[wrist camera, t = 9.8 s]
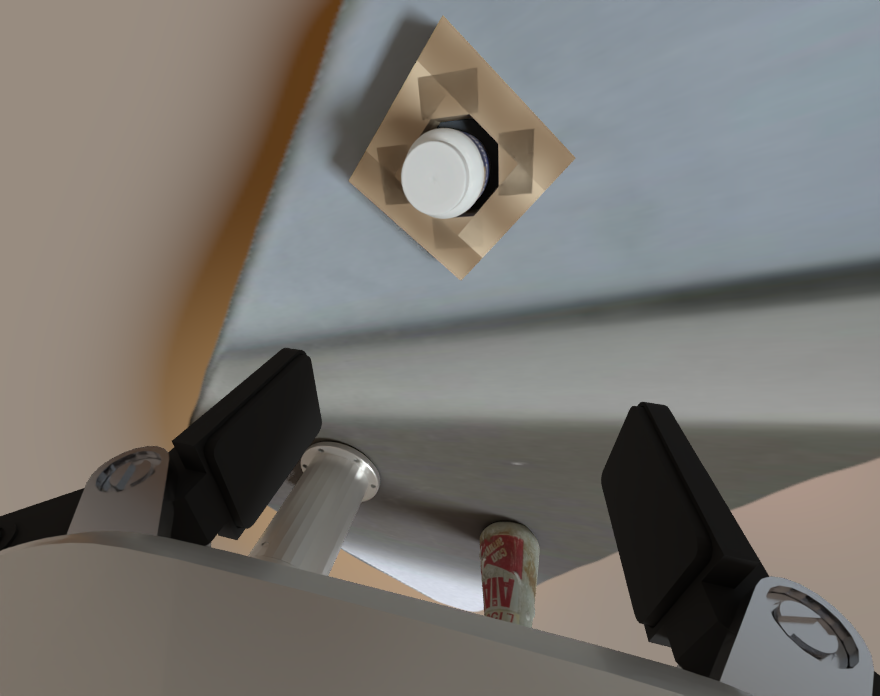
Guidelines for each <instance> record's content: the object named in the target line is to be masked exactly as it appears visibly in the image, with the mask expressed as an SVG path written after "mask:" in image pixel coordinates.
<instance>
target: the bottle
mask: <svg viewBox="0 0 880 696" xmlns="http://www.w3.org/2000/svg"><path fill="white" fill-rule="evenodd" d="M479 557H480V560H481V574H482V587H483V601H484V615H485V616H487V617H491V618H494V619H498V620H502V621H506V622H510V623H514V624H518V625H521V626H525V627H529V628H532V621H533V618H534V616H535V608H534V603H535V594H536V584H537V573H538V563H539V544H538V541H537V539H536V538H535V536H534V535H533V534H532V532H531V531H530V530H529V529H528V528H527V527H526V526H524V525H522V524H518V523H513V522H512V521H511V522H502V521H501V522H496V523H493V524H491V525H489V526H488V527H487V528H485V529H484V530H483V532H482V533H481V536H480V554H479Z"/></svg>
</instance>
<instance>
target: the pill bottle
mask: <svg viewBox="0 0 880 696" xmlns="http://www.w3.org/2000/svg"><path fill="white" fill-rule="evenodd" d="M490 172H491V165H490V159H489V155H488V152H487V150H486V148H485V147H484V145H483V144H482V143H481V141H480V140H478V139H477V138H476V137H474V136H473V135H471V134H469V133H466V132H462V131H459V130H455V129H450V128H438V129H433V130H430V131H428V132H426V133H424V134H423V135H421V136H420V137H419V138H418V139H417V140H416V141H415V142H414V143H413V144H412V146H411V148H410V149H409V151H408V153H407V156H406V159H405V161H404V163H403V167H402V172H401V183H402V188H403V191H404V194H405V196H406V198H407V200H408V201H409V202H410V204H411V205H412V206H413V207H414V208H416V209H417V210H418V211H420V212H422V213H424V214H427V215H429V216H431V217H434V218H439V219H448V218H453V217H456V216H459V215H461V214H463V213H464V212H466V211H467V210H468V209H469V208H470V207H471V206H472V205H473V204H474V203H475V202H476V200H477V199H478V198H479V197H480V196H481V194H482V193H483V192H484V190H485V188H486V186H487V184H488V181H489V178H490Z"/></svg>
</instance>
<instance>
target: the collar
mask: <svg viewBox="0 0 880 696" xmlns="http://www.w3.org/2000/svg"><path fill="white" fill-rule="evenodd" d="M469 118H474V119H475V120H476V121H477V122H478V123H479V124H480V125H481V126H482V127H483V128H484V129H485V130H486V131H487V132H488V133H489V135H490V136H491V137H492V138H493V139H494V140H495V141H496V142H497V143H498V155H499V186H498V187H497V188H496V189H495V190H494V192H493V193H492V194H491V195H490V196H489V198H488V199H487V200H486V201H485V202H484V204H483V205H482V206H481V207H480V208H479V209H474V210H467V211H466V212H464V213H463V214H461V215H459V216H456V217H453V218H448V219H439V218H434V217H431V216H429V215H427V214H424V213H422V212H420V211H418V210H417V209H416V208H414V207H413V206H412V205H411V204H410V202H409V201H408V200H407V198H406V196H405V194H404V191H403V188H402V183H401V172H402V167H403V163H404V161H405V159H406V156H407V153H408V151H409V149H410V148H411V146H412V144H413V143H414V142H415V141H416V140H417V139H418V138H419V137H420V136H421V135H423V134H424V133H426V132H428V131H430V130H433V129H437V127H438V125H439V124H440V122H447V121H454V120H461V119H469ZM574 159H575V157H574V156H573V155H572V154H571V153H570V152H569V150H568V149H567V148H566V147H565V146H564V145H563V144H562V143H561V142H560V141H559V140H558V139H557V138H556V136H555V135H554V134H553V133H552V132H551V131H550V130H549V129H548V128H547V127H546V126H545V125H544V124H543V122H542V121H541V120H540V119H539V118H538V117H537V116H536V115H535V114H534V113H533V112H532V111H531V110H530V108H529V107H528V106H527V105H526V104H525V103H524V102H523V101H522V100H521V99H520V98H519V97H518V96H517V94H516V93H515V92H514V91H513V90H512V89H511V88H510V87H509V86H508V85H507V84H506V83H505V82H504V80H503V79H502V78H501V77H500V76H499V75H498V74H497V73H496V72H495V71H494V70H493V69H492V68H491V66H490V65H489V64H488V63H487V62H486V61H485V60H484V59H483V58H482V57H481V56H480V55H479V54H478V53H477V51H476V50H475V49H474V48H473V47H472V46H471V45H470V44H469V43H468V42H467V41H466V40H465V39H464V37H463V36H462V35H461V34H460V33H459V32H458V31H457V30H456V29H455V28H454V27H453V26H452V25H451V23H450V22H449V21H448V20H447V19H446V18H445V17H444V16H442V17H441V19H440V21H439V23H438V24H437V26H436V28H435V30H434V31H433V33H432V35H431V37H430V39H429V40H428V42H427V44H426V46H425V47H424V49H423V51H422V53H421V54H420V56H419V58H418V60H417V61H416V63H415V65H414V67H413V68H412V70H411V72H410V74H409V75H408V77H407V79H406V81H405V83H404V84H403V86H402V88H401V90H400V91H399V93H398V95H397V97H396V98H395V100H394V102H393V104H392V105H391V107H390V109H389V111H388V112H387V114H386V116H385V118H384V119H383V121H382V123H381V125H380V127H379V128H378V130H377V132H376V134H375V135H374V137H373V139H372V141H371V142H370V144H369V146H368V148H367V149H366V151H365V153H364V155H363V156H362V158H361V160H360V162H359V164H358V165H357V167H356V169H355V171H354V172H353V174H352V176H351V178H350V179H349V182H350V183H351V184H353V185H354V186H355V187H356V188H357V189H358V190H359V191H360V192H362V193H363V194H364V195H365V196H366V197H367V198H368V199H369V200H371V201H372V202H373V203H374V204H375V205H376V206H377V207H378V208H380V209H381V210H382V211H383V212H384V213H385V214H386V215H388V216H389V217H390V218H391V219H392V220H393V221H394V222H395V223H397V224H398V225H399V226H400V227H401V228H402V229H403V230H404V231H406V232H407V233H408V234H409V235H410V236H411V237H412V238H413V239H415V240H416V241H417V242H418V243H419V244H420V245H421V246H422V247H424V248H425V249H426V250H427V251H428V252H429V253H430V254H431V255H433V256H434V257H435V258H436V259H437V260H438V261H439V262H440V263H442V264H443V265H444V266H445V267H446V268H447V269H448V270H449V271H451V272H452V273H453V274H454V275H455V276H456V277H457V278H458V279H460V280H462V279H463V278H464V277H465V276H466V275H467V274H468V273H469V272H470V271H471V270H472V268H473V267H474V266H475V265H476V264H477V263H478V262H479V261H480V260H481V259H482V258H483V257H484V256H485V255H486V253H487V252H488V251H489V250H490V249H491V248H492V247H493V246H494V245H495V244H496V243H497V242H498V241H499V240H500V238H501V237H502V236H503V235H504V234H505V233H506V232H507V231H508V230H509V229H510V228H511V227H512V226H513V225H514V223H515V222H516V221H517V220H518V219H519V218H520V217H521V216H522V215H523V214H524V213H525V212H526V211H527V210H528V208H529V207H530V206H531V205H532V204H533V203H534V202H535V201H536V200H537V199H538V198H539V197H540V196H541V195H542V193H543V192H544V191H545V190H546V189H547V188H548V187H549V186H550V185H551V184H552V183H553V182H554V181H555V180H556V178H557V177H558V176H559V175H560V174H561V173H562V172H563V171H564V170H565V169H566V168H567V167H568V166H569V165H570V163H571V162H572V161H573V160H574Z"/></svg>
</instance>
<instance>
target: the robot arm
mask: <svg viewBox="0 0 880 696" xmlns="http://www.w3.org/2000/svg"><path fill="white" fill-rule="evenodd" d="M321 425H322V419H321V414H320V408H319V402H318V397H317V391H316V385H315V380H314V374H313V368H312V363H311V359H310V357H309V356H307V355H306V353H305V352H304V351H303V350H297V349H290V348H283V349H282V350H280V351H279V352H278V353H277V354H276V355H274V356H273V357H272V358H271V359H270V360H268V361H267V362H266V363H265V364H264V365H262V366H261V367H260V368H259V369H258V370H256V371H255V372H254V373H253V374H252V375H250V376H249V377H248V378H247V379H246V380H244V381H243V382H242V383H241V384H240V385H238V386H237V387H236V388H235V389H234V390H232V391H231V392H230V393H229V394H228V395H226V396H225V397H224V398H223V399H222V400H220V401H219V402H218V403H217V404H216V405H214V406H213V407H212V408H211V409H210V410H208V411H207V412H206V413H205V414H204V415H202V416H201V417H200V418H199V419H198V420H196V421H195V422H194V423H193V424H192V425H190V426H189V427H188V428H187V429H186V430H184V431H183V432H182V433H181V434H180V435H179V436H177V437H176V438H175V439H174V440H172V443H173V445H174V448H173V449H172V450H171V451H170V452H167V451H166V450H165V449H164V448H161V447H158V446H146V447H140V448H135V449H132V450H129V451H127V452H124V453H122V454H120V455H118V456H116V457H114V458H112V459H110V460H109V461H107V462H106V463H104V464H103V465H101V466H100V467H99V468H98V469H97V470H96V471H95V472H94V473H93V474H92V475H91V477H90V478H89V480H88V482H87V483H86V486H85V488H83V489H80V490H77V491H74V492H72V493H68V494H65V495H62V496H59V497H57V498H53V499H50V500H48V501H44V502H42V503H39V504H36V505H33V506H30V507H27V508H24V509H21V510H18V511H15V512H12V513H9V514H6V515H3V516H0V696H880V675H878V674H877V673H876V672H874V666H873V661H872V655H871V653H870V651H869V649H868V648H867V646H866V644H865V642H864V640H863V638H862V637H861V636H860V634H859V633H858V632H857V631H856V629H855V628H854V627H853V625H852V624H851V623H850V622H849V621H848V620H847V619H846V618H845V617H844V616H843V615H842V614H841V613H840V612H839V611H838V610H837V609H836V608H835V607H834V606H832V605H831V604H830V603H828V602H827V601H826V600H825V599H823V598H822V597H821V596H819V595H818V594H817V593H815V592H813V591H811V590H810V589H808V588H806V587H804V586H802V585H801V584H799V583H796V582H793V581H791V580H788V579H785V578H780V577H772V576H771V577H769V575H768V574H767V572H766V570H765V568H764V567H763V565H762V563H761V562H760V560H759V558H758V557H757V555H756V553H755V552H754V550H753V548H752V547H751V545H750V544H749V542H748V540H747V538H746V537H745V535H744V533H743V532H742V530H741V528H740V527H739V525H738V523H737V522H736V520H735V518H734V516H733V515H732V513H731V511H730V510H729V508H728V506H727V505H726V503H725V501H724V500H723V498H722V496H721V495H720V493H719V491H718V490H717V488H716V486H715V485H714V483H713V481H712V479H711V478H710V476H709V474H708V473H707V471H706V469H705V468H704V466H703V465H702V463H701V461H700V460H699V458H698V456H697V455H696V453H695V451H694V450H693V448H692V446H691V445H690V443H689V441H688V440H687V438H686V436H685V435H684V433H683V431H682V430H681V428H680V426H679V424H678V423H677V421H676V419H675V418H674V416H673V414H672V413H671V411H670V409H669V408H668V407H667V406H665V405H660V404H654V403H647V402H641V403H639V404H638V406H632V407H631V408H630V410H629V412H628V415H627V417H626V419H625V422H624V424H623V426H622V428H621V431H620V433H619V435H618V438H617V440H616V442H615V445H614V447H613V449H612V451H611V454H610V456H609V458H608V461H607V463H606V465H605V468H604V470H603V472H602V477H601V484H602V489H603V492H604V496H605V500H606V504H607V508H608V512H609V516H610V520H611V524H612V528H613V532H614V536H615V540H616V543H617V547H618V551H619V555H620V559H621V563H622V567H623V571H624V574H625V579H626V583H627V586H628V591H629V594H630V598H631V602H632V606H633V610H634V614H635V617H636V619H637V621H638V622H639V623H642V624H644V626H645V630H646V634H647V637H648V641H649V642H652V643H656V644H660V645H664V646H668V647H671V649H672V652H673V655H674V658H675V661H676V662H677V663H678V665H677V667H674V666H670V665H666V664H663V663H659V662H655V661H652V660H648V659H645V658H641V657H638V656H634V655H630V654H626V653H623V652H620V651H615V650H612V649H609V648H605V647H602V646H598V645H594V644H590V643H587V642H583V641H579V640H576V639H572V638H568V637H564V636H560V635H556V634H552V633H548V632H545V631H541V630H537V629H533V628H529V627H525V626H521V625H518V624H514V623H510V622H506V621H502V620H498V619H494V618H491V617H487V616H483V615H479V614H475V613H471V612H467V611H464V610H460V609H456V608H452V607H448V606H444V605H439V604H436V603H432V602H428V601H424V600H420V599H416V598H412V597H408V596H404V595H401V594H396V593H393V592H388V591H385V590H380V589H377V588H373V587H369V586H365V585H361V584H357V583H353V582H349V581H345V580H341V579H337V578H333V577H329V576H328V575H329V573H330V571H331V569H332V566H333V564H334V562H335V560H336V557H337V555H338V553H339V551H340V549H341V546H342V544H343V542H344V540H345V537H346V535H347V533H348V531H349V529H350V526H351V524H352V522H353V520H354V517H355V515H356V513H357V511H358V509H359V506H360V504H361V502H364V501H367V500H369V499H371V498H373V497H374V496H375V495H376V493H377V491H378V489H379V486H380V476H379V473H378V471H377V469H376V467H375V466H374V464H373V463H372V462H371V461H370V460H369V459H368V458H367V457H366V456H365V455H363V454H362V453H361V452H359V451H357V450H356V449H354V448H352V447H349V446H347V445H344V444H341V443H336V442H319V443H315V444H313V445H311V446H310V444H311V443H312V441H313V440H314V439H315V437H316V436H317V434H318V433H319V431H320V429H321ZM309 446H310V447H309ZM302 455H303V456H302ZM301 457H302V458H301ZM300 458H301V468H302V471H303V474H302V476H301V477H300V479H299V480H298V482H297V483H296V485H295V486H294V488H293V489H292V491H291V492H290V494H289V495H288V497H287V498H286V500H285V501H284V503H283V504H282V506H281V507H280V509H279V510H278V512H277V513H276V515H275V516H274V518H273V519H272V521H271V522H270V524H269V525H268V527H267V528H266V530H265V531H264V533H263V534H262V536H261V537H260V539H259V540H258V542H257V543H256V545H255V546H254V548H253V549H252V551H251V552H250V554H249V555H248V556H244V555H240V554H236V553H232V552H228V551H224V550H219V549H215V548H211V541H212V540H213V539H214V538H215V536H216V535H217V534H218V535H219V536H223V537H227V538H231V539H235V540H238V538H239V537H240V536H241V534H242V533H243V531H244V530H245V529H246V528H247V529H248V528H250V527H251V526H252V525H253V524H254V523H255V522H256V520H257V519H258V518H259V516H260V515H261V513H262V512H263V510H264V509H265V508H266V506H267V505H268V503H269V502H270V501H271V499H272V498H273V496H274V495H275V494H276V492H277V491H278V489H279V488H280V487H281V485H282V484H283V482H284V481H285V479H286V478H287V477H288V475H289V474H290V472H291V471H292V470H293V468H294V467H295V465H296V464H297V463H298V461H299V460H300Z"/></svg>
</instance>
